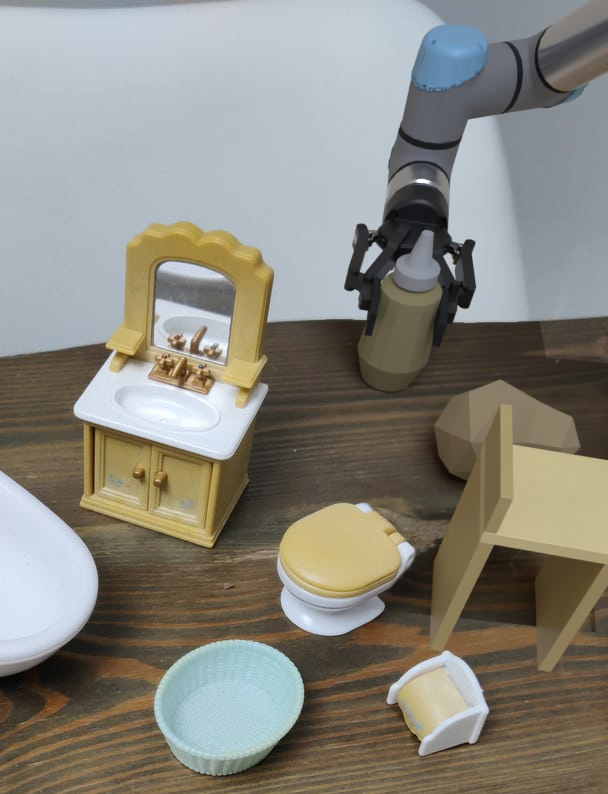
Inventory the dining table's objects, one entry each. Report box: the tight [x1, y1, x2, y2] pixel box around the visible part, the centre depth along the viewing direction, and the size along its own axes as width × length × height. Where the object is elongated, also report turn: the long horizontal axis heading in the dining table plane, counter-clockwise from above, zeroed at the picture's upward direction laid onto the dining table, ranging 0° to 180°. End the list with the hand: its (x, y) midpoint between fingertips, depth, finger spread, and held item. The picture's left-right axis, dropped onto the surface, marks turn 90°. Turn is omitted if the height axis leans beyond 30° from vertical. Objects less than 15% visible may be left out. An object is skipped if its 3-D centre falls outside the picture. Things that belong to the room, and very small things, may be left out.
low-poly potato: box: [433, 379, 581, 482], centre depth 101 cm, size 15×11×12 cm
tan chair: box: [428, 404, 608, 673], centre depth 85 cm, size 11×11×20 cm
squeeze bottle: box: [357, 230, 443, 393], centre depth 106 cm, size 8×8×18 cm
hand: (405, 329), depth 103 cm, fingers closed on squeeze bottle, 6 cm apart
